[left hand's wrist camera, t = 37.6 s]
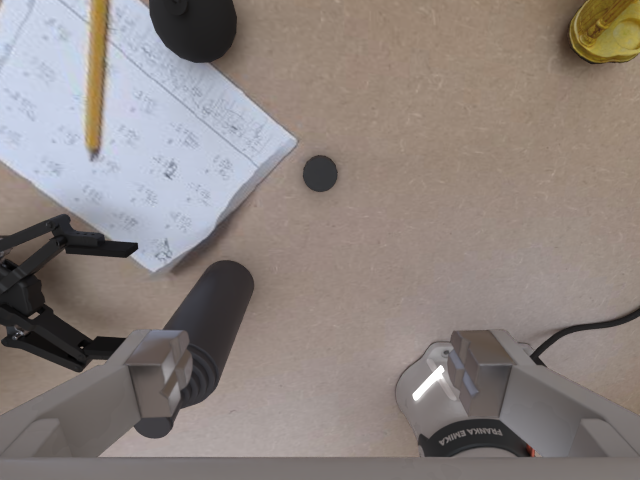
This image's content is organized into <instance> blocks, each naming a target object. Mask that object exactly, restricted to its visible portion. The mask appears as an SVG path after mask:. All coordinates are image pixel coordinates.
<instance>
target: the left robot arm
mask: <svg viewBox="0 0 640 480" xmlns="http://www.w3.org/2000/svg"><path fill="white" fill-rule="evenodd" d="M639 316H640V309H638V310H637V311H635V312H633V313H631V314H629V315H627V316H625V317H623V318H620V319H617V320H614V321H610V322H604V323H596V324H586V325H578V326H573V327H570V328H566V329H564V330H561V331H559V332H557V333H556V334H554V335H553V336H552V337H550V338H549V339H548V340H546V341H545V342H544V343H543V344H542V345H541V346H539V347H538V348H537V349H536V350H535V351H534V350H533V349H532V348H531V346H530V345H528V344H524V343H517V342H516V341H515V340H514V338H513V337H512V336H511V335H510V334H509V333H508V332H507V331H506V330H503V329H499V330H472V331H453V333H452V335H451V341H450V342H436V343H433V344H432V345H431V346H430V347H429V348H428V349H427V351H426V352H425V354H424V355H423V357H422V358H421V359H420V360H418V361H417V362H416V363H414V364H413V365H412V366H410V367H409V368H408V369H407V370H406V371H405V372H404V373H403V375H402V376H401V377H400V379H399V381H398V384H397V387H396V401H397V404H398V406H399V408H400V409H401V411H402V412H403V414H404V415H405V417H406V419H407V420H408V422H409V424H410V426H411V428H412V430H413V432H414V435H415V437H416V439H417V442H418V452H419V456H420V457H98V456H99V455H100V454H101V453H103V452H104V451H105V450H106V449H107V448H108V447H110V446H111V445H112V444H113V443H114V442H115V441H117V440H118V439H119V438H120V437H121V436H122V435H124V434H125V433H126V432H127V431H128V430H129V429H131V428H132V427H133V426H134V425H135V424H136V423H138V422H139V421H140V420H141V418H155V417H172V415H173V413H174V411H175V409H176V407H177V405H178V403H179V401H180V399H181V395H180V391H181V390H182V389H184V388H185V387H186V386H187V385H188V383H189V380H190V378H191V374H192V369H193V359H192V354H191V353H190V352H189V351H188V350H187V349H186V348H187V346H188V344H189V342H190V341H189V336H188V333H187V332H186V331H185V330H135V331H133V332H132V333H131V334H130V335H129V336H128V337H127V338H126V340H125V341H124V342H123V343H122V344H121V345H120V346H119V348H118V349H117V350H116V351H115V352H114V353H113V354H112V356H111V357H110V358H109V359H108V360H107V361H106V363H105V364H104V365H97V366H95V367H93V368H91V369H90V370H88V371H86V372H84V373H82V374H80V375H78V376H76V377H74V378H72V379H70V380H68V381H66V382H64V383H62V384H60V385H59V386H57V387H55V388H53V389H51V390H49V391H47V392H45V393H43V394H41V395H39V396H37V397H35V398H33V399H31V400H30V401H28V402H26V403H24V404H22V405H20V406H18V407H16V408H14V409H12V410H10V411H8V412H6V413H4V414H2V415H1V416H0V480H640V416H639V415H637V414H635V413H633V412H631V411H630V410H628V409H626V408H624V407H622V406H620V405H618V404H616V403H614V402H612V401H610V400H608V399H606V398H604V397H603V396H601V395H599V394H597V393H595V392H593V391H591V390H589V389H587V388H585V387H583V386H581V385H579V384H577V383H576V382H574V381H572V380H570V379H568V378H566V377H564V376H562V375H560V374H558V373H556V372H554V371H552V370H550V369H549V368H547V366H546V365H545V364H544V363H543V362H542V361H541V360H540V359H539V358H538V356H539V355H540V354H541V353H542V352H543V351H545V350H546V349H547V348H548V347H549V346H550V345H552V344H553V343H554V342H555V341H557V340H558V339H559V338H561V337H563V336H565V335H567V334H570V333H573V332H576V331H581V330H589V329H599V328H608V327H613V326H617V325H621V324H624V323H626V322H629V321H631V320H633V319H635V318H637V317H639ZM445 350H447V351H445ZM444 351H445V352H444ZM535 451H536V452H537V453H539V454H540V455H541V456H542V457H535Z"/></svg>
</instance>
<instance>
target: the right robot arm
mask: <svg viewBox="0 0 640 480" xmlns="http://www.w3.org/2000/svg"><path fill="white" fill-rule="evenodd" d="M70 221H71V219H70V217H69V216H68V215H66V214H61V215H59V216H56V217H53V218H51V219H48V220H46V221H43V222H41V223H39V224H36V225H34V226H32V227H29V228H27V229H25V230H22V231H20V232H18V233H15V234H13V235H9V236H0V324H2V325H4V326H6V329H7V336H6V337H5V338H3V339H2V340H1V343H2V344H3V345H4V346H6V347H12V348H19V349H23V350H25V351H28V352H30V353H32V354H35V355H37V356H40V357H42V358H44V359H47V360H49V361H52V362H54V363H56V364H59V365H61V366H63V367H66V368H68V369H71V370H73V371H75V372H82V370H83V369H84V368H85V367H86V366H87V365H88V364H89V363H90V362H91V361H92V360H93V359H100V360H108V359H109V358H110V357H111V356H112V354H113V353H114V352H115V351H116V350H117V349H118V348H119V346H120V345H121V344H122V343H123V342H124V341H125V340H126V338H116V337H101V336H97V337H96V338H95V339H94V340H91V339H90V338H88V337H87V336H85V335H84V334H82V333H81V332H79V331H78V330H76V329H75V328H73V327H72V326H70V325H69V324H67V323H66V322H64V321H63V320H61V319H60V318H59V317H57V316H56V315H54V314H53V310H52V309H51V308H50V307H48V306H47V305H45V304H44V303H45V299H44V296H43V294H42V292H41V286H42V285H41V280H38V279H37V278H36V277H35V276H34V274H35V273H36V272H37V271H39V270H40V269H41V268H42V267H43V266H44V265H45V264H46V263H47V262H49V261H50V260H51V259H52V258H54V257H55V256H56V255H57V254H59V253H60V252H61V251H62V250H64V249H65V250H66V253H67V254H80V255H94V256H108V257H121V258H127V257H128V256H129V255H131V254H132V253H133V252H135V251H136V250H137V249H138V243H131V242H118V241H105V238H104V235H103V234H101V233H94V232H81V231H76V230H74V229H73V228H72V227H71V225H70V224H69V223H70ZM50 231H52V233H53V235H54V238H51V239H49V240H50V241H49V242H48V243H47V244H45V245H44V246H43V247H42V248H41V249H39V250H38V251H37V252H36V253H34V254H33V255H32V256H31V257H30V258H28V259H27V260H26V261H25V262H24V263H22V264H21V265H20V266H18V265H17V264H15V263H13V262H12V261H10V260H8V259H5V258H4V257H5V255H7V254H9V253H10V251H11V249H13V247H14V246H17V245H19V244H22V243H24V242H26V241H29V240H31V239H33V238H36V237H38V236H41V235H43V234H45V233H48V232H50ZM35 312H38V313H39V314H40V315H39V316H37V317H36V318H34V319H29V318H28V317H29V316H31V315H32V314H34V313H35ZM80 347H84V348H83V349H81V348H80Z"/></svg>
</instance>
